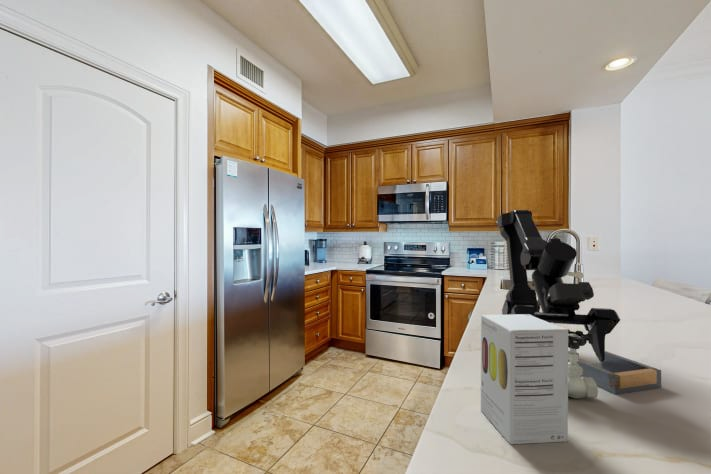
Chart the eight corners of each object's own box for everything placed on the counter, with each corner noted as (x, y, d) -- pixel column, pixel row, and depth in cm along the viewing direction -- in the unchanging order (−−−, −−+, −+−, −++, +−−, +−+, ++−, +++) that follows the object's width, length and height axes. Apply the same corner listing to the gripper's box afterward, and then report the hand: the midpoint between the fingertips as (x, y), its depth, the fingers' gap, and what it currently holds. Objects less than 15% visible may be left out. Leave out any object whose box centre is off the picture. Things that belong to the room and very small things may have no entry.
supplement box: (479, 410, 55) (478, 313, 55) (529, 407, 55) (528, 312, 56) (510, 446, 45) (510, 329, 45) (570, 442, 46) (570, 328, 46)
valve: (603, 408, 55) (602, 340, 55) (561, 404, 57) (561, 338, 57) (583, 390, 62) (583, 329, 62) (547, 387, 63) (547, 327, 63)
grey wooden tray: (564, 371, 71) (564, 355, 71) (605, 366, 74) (605, 351, 74) (615, 394, 60) (615, 376, 60) (661, 387, 63) (661, 370, 63)
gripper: (512, 266, 66) (530, 334, 55) (614, 268, 62) (654, 341, 51) (503, 297, 74) (517, 362, 63) (593, 300, 70) (624, 370, 59)
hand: (574, 358), depth 59 cm, fingers open, 9 cm apart
